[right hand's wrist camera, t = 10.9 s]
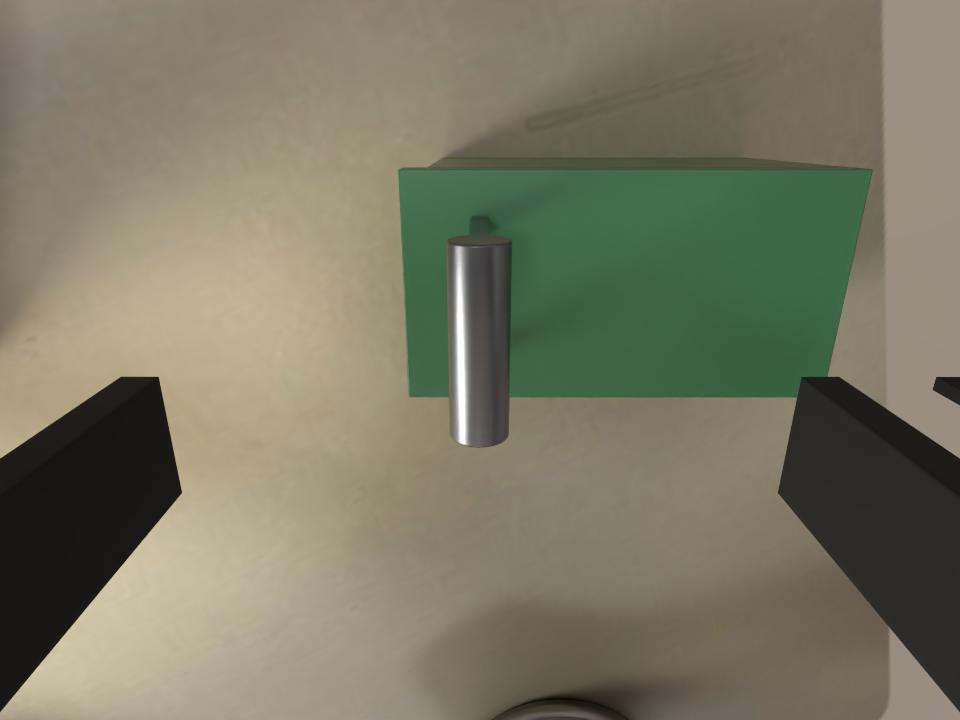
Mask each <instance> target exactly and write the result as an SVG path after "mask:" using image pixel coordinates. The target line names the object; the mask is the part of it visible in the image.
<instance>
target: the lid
mask: <svg viewBox="0 0 960 720" xmlns="http://www.w3.org/2000/svg"><path fill="white" fill-rule="evenodd" d="M871 175H872V169H863V168H401V169H399V193H400V215H401V237H402V259H403V281H404V303H405V325H406V347H407V369H408V391H409V397H449V403H450V435H451V437H452V439H453V440H454V441H456V442H457V443H459V444H461V445H465V446H469V447H490V446H494V445H497V444H500V443H502V442H503V441H505V440H506V438H507V437H508V434H509V397H798V392H799V387H800V382H801V377H827V376H828V371H829V367H830V362H831V357H832V353H833V348H834V344H835V339H836V335H837V330H838V325H839V321H840V316H841V312H842V307H843V303H844V298H845V293H846V289H847V284H848V280H849V275H850V271H851V266H852V262H853V257H854V252H855V248H856V243H857V239H858V234H859V230H860V225H861V220H862V216H863V211H864V207H865V202H866V198H867V193H868V188H869V184H870V179H871Z"/></svg>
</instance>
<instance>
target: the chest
mask: <svg viewBox="0 0 960 720" xmlns="http://www.w3.org/2000/svg"><path fill="white" fill-rule="evenodd" d="M428 168H850V167H840V166H829V165H818V164H807V163H796V162H785V161H774V160H763V159H752V158H441V159H440V160H439V161H437V162H435V163H434V164H432V165H431V166H429V167H428Z"/></svg>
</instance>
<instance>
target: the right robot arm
mask: <svg viewBox="0 0 960 720" xmlns="http://www.w3.org/2000/svg"><path fill="white" fill-rule="evenodd" d="M181 493H182V490H181V485H180V480H179V476H178V471H177V466H176V461H175V456H174V451H173V446H172V441H171V436H170V431H169V426H168V421H167V416H166V411H165V407H164V402H163V397H162V392H161V387H160V382H159V377H120V378H119V379H117V380H116V381H114V382H113V383H111V384H110V385H108V386H107V387H105V388H104V389H102V390H101V391H99V392H98V393H96V394H95V395H94V396H92V397H91V398H89V399H88V400H86V401H85V402H83V403H82V404H80V405H79V406H77V407H76V408H74V409H73V410H71V411H70V412H68V413H67V414H65V415H64V416H63V417H61V418H60V419H58V420H57V421H55V422H54V423H52V424H51V425H49V426H48V427H46V428H45V429H43V430H42V431H40V432H39V433H37V434H36V435H34V436H33V437H32V438H30V439H29V440H27V441H26V442H24V443H23V444H21V445H20V446H18V447H17V448H15V449H14V450H12V451H11V452H9V453H8V454H6V455H5V456H3V457H2V458H1V459H0V712H1V710H2V709H3V708H4V707H5V706H6V704H7V703H8V702H9V701H10V700H11V698H12V697H13V696H14V695H15V694H16V692H17V691H18V690H19V689H20V688H21V686H22V685H23V684H24V683H25V681H26V680H27V679H28V678H29V677H30V675H31V674H32V673H33V672H34V671H35V669H36V668H37V667H38V666H39V665H40V663H41V662H42V661H43V660H44V659H45V657H46V656H47V655H48V654H49V653H50V651H51V650H52V649H53V648H54V647H55V645H56V644H57V643H58V642H59V641H60V639H61V638H62V637H63V636H64V634H65V633H66V632H67V631H68V630H69V628H70V627H71V626H72V625H73V624H74V622H75V621H76V620H77V619H78V618H79V616H80V615H81V614H82V613H83V612H84V610H85V609H86V608H87V607H88V606H89V604H90V603H91V602H92V601H93V600H94V598H95V597H96V596H97V595H98V594H99V592H100V591H101V590H102V589H103V587H104V586H105V585H106V584H107V583H108V581H109V580H110V579H111V578H112V577H113V575H114V574H115V573H116V572H117V571H118V569H119V568H120V567H121V566H122V565H123V563H124V562H125V561H126V560H127V559H128V557H129V556H130V555H131V554H132V553H133V551H134V550H135V549H136V548H137V547H138V545H139V544H140V543H141V542H142V540H143V539H144V538H145V537H146V536H147V534H148V533H149V532H150V531H151V530H152V528H153V527H154V526H155V525H156V524H157V522H158V521H159V520H160V519H161V518H162V516H163V515H164V514H165V513H166V512H167V510H168V509H169V508H170V507H171V506H172V504H173V503H174V502H175V501H176V500H177V498H178V497H179V496H180V495H181ZM778 493H779V495H780V496H781V497H782V498H783V500H784V501H785V502H786V503H787V504H788V506H789V507H790V508H791V509H792V510H793V512H794V513H795V514H796V515H797V516H798V518H799V519H800V520H801V521H802V522H803V524H804V525H805V526H806V527H807V528H808V530H809V531H810V532H811V533H812V534H813V536H814V537H815V538H816V539H817V540H818V542H819V543H820V544H821V545H822V547H823V548H824V549H825V550H826V551H827V553H828V554H829V555H830V556H831V557H832V559H833V560H834V561H835V562H836V563H837V565H838V566H839V567H840V568H841V569H842V571H843V572H844V573H845V574H846V575H847V577H848V578H849V579H850V580H851V581H852V583H853V584H854V585H855V586H856V587H857V589H858V590H859V591H860V592H861V594H862V595H863V596H864V597H865V598H866V600H867V601H868V602H869V603H870V604H871V606H872V607H873V608H874V609H875V610H876V612H877V613H878V614H879V615H880V616H881V618H882V619H883V620H884V621H885V622H886V624H887V625H888V626H889V627H890V628H891V630H892V631H893V632H894V633H895V634H896V636H897V637H898V638H899V639H900V641H901V642H902V643H903V644H904V645H905V647H906V648H907V649H908V650H909V651H910V652H911V654H912V655H913V656H914V657H915V659H916V660H917V661H918V662H919V663H920V665H921V666H922V667H923V668H924V669H925V671H926V672H927V673H928V674H929V675H930V677H931V678H932V679H933V680H934V681H935V683H936V684H937V685H938V686H939V688H940V689H941V690H942V691H943V692H944V694H945V695H946V696H947V697H948V698H949V700H950V701H951V702H952V703H953V704H954V706H955V707H956V708H957V709H958V710H959V712H960V459H959V458H958V457H956V456H955V455H954V454H952V453H951V452H949V451H948V450H946V449H945V448H943V447H942V446H940V445H939V444H937V443H936V442H934V441H933V440H931V439H930V438H928V437H927V436H926V435H924V434H923V433H921V432H920V431H918V430H917V429H915V428H914V427H912V426H911V425H909V424H908V423H906V422H905V421H903V420H902V419H900V418H899V417H897V416H896V415H895V414H893V413H892V412H890V411H889V410H887V409H886V408H884V407H883V406H881V405H880V404H878V403H877V402H875V401H874V400H872V399H871V398H869V397H868V396H866V395H865V394H864V393H862V392H861V391H859V390H858V389H856V388H855V387H853V386H852V385H850V384H849V383H847V382H846V381H844V380H843V379H841V378H840V377H801V382H800V387H799V392H798V397H797V402H796V407H795V411H794V416H793V421H792V426H791V431H790V436H789V441H788V446H787V451H786V456H785V461H784V466H783V471H782V476H781V480H780V485H779V490H778Z"/></svg>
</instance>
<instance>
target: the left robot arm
mask: <svg viewBox="0 0 960 720" xmlns="http://www.w3.org/2000/svg"><path fill="white" fill-rule="evenodd" d="M933 390H934V391H936V392H937V393H939V394H941V395H943V396H944V397H946V398H948V399H950V400H951V401H953V402H955V403H957V404H959V405H960V377H936V380H935V384H934V387H933ZM493 720H626V719H625V718H624V717H622V716H621V715H619V714H617V713H616V712H614V711H612V710H609V709H607V708H605V707H602V706H599V705H596V704H592V703H589V702H583V701H577V700H562V699H559V700H545V701H538V702H533V703H529V704H525V705H522V706H519V707H516V708H513V709H511V710H509V711H506V712H504V713H503V714H501V715H499V716H497V717H496V718H494V719H493Z"/></svg>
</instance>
